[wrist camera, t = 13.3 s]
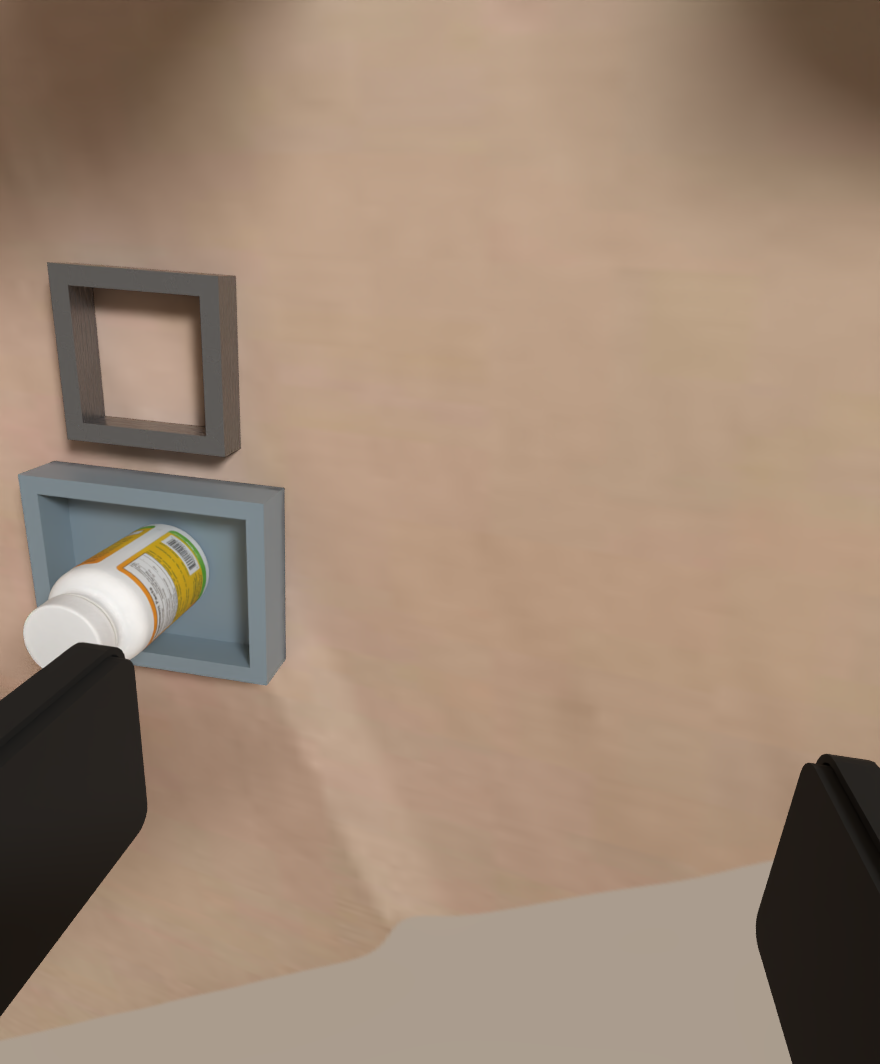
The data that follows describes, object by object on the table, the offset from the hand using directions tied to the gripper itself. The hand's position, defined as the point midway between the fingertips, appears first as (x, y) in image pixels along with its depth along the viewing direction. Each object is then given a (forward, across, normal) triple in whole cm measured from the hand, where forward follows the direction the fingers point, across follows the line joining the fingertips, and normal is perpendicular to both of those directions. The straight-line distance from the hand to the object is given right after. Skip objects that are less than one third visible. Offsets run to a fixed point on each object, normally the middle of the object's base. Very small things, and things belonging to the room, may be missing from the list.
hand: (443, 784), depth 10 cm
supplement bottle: (+28, +20, +11) cm, 36 cm away
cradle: (+28, +20, -1) cm, 35 cm away
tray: (+28, +20, +11) cm, 36 cm away
